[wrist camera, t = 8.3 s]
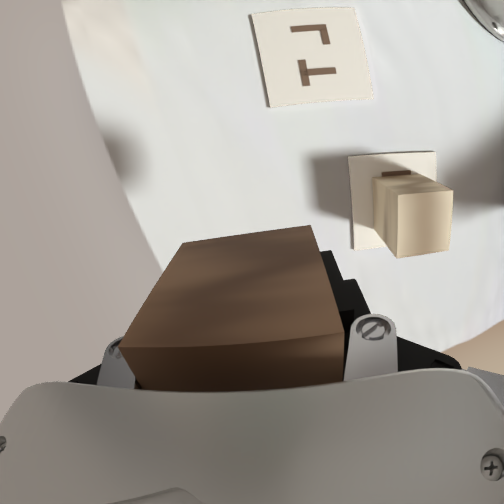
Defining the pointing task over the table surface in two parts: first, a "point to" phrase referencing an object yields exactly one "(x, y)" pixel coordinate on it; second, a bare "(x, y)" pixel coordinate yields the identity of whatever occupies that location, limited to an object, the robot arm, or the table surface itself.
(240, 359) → the block walnut
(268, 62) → the tile
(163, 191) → the table surface
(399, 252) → the block maple
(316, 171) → the table surface
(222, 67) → the table surface
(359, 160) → the tile
